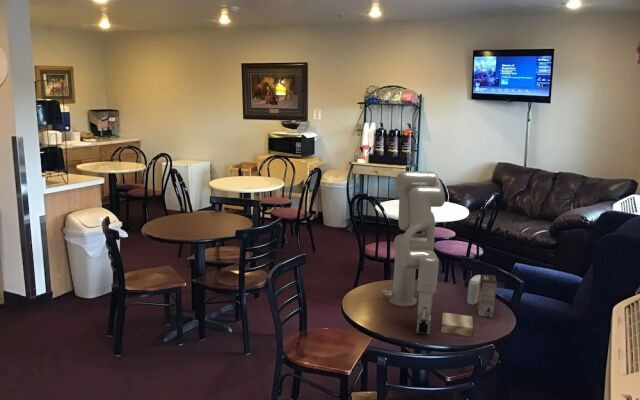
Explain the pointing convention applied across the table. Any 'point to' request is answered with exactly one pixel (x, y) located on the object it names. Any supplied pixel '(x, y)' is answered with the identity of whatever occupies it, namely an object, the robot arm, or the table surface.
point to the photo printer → (473, 290)
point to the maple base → (457, 324)
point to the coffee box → (486, 295)
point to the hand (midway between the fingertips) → (423, 328)
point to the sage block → (427, 323)
